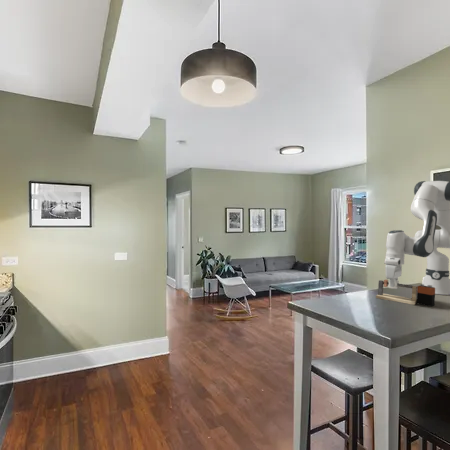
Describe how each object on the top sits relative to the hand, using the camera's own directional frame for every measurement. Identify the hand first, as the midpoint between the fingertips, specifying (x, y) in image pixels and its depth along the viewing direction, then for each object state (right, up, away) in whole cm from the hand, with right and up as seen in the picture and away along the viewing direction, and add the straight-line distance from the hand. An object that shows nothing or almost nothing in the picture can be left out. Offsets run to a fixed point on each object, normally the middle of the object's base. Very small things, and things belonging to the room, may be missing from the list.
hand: (393, 285), depth 165 cm
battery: (+11, -8, -9) cm, 16 cm away
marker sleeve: (0, -1, 0) cm, 1 cm away
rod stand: (+1, -7, -1) cm, 7 cm away
